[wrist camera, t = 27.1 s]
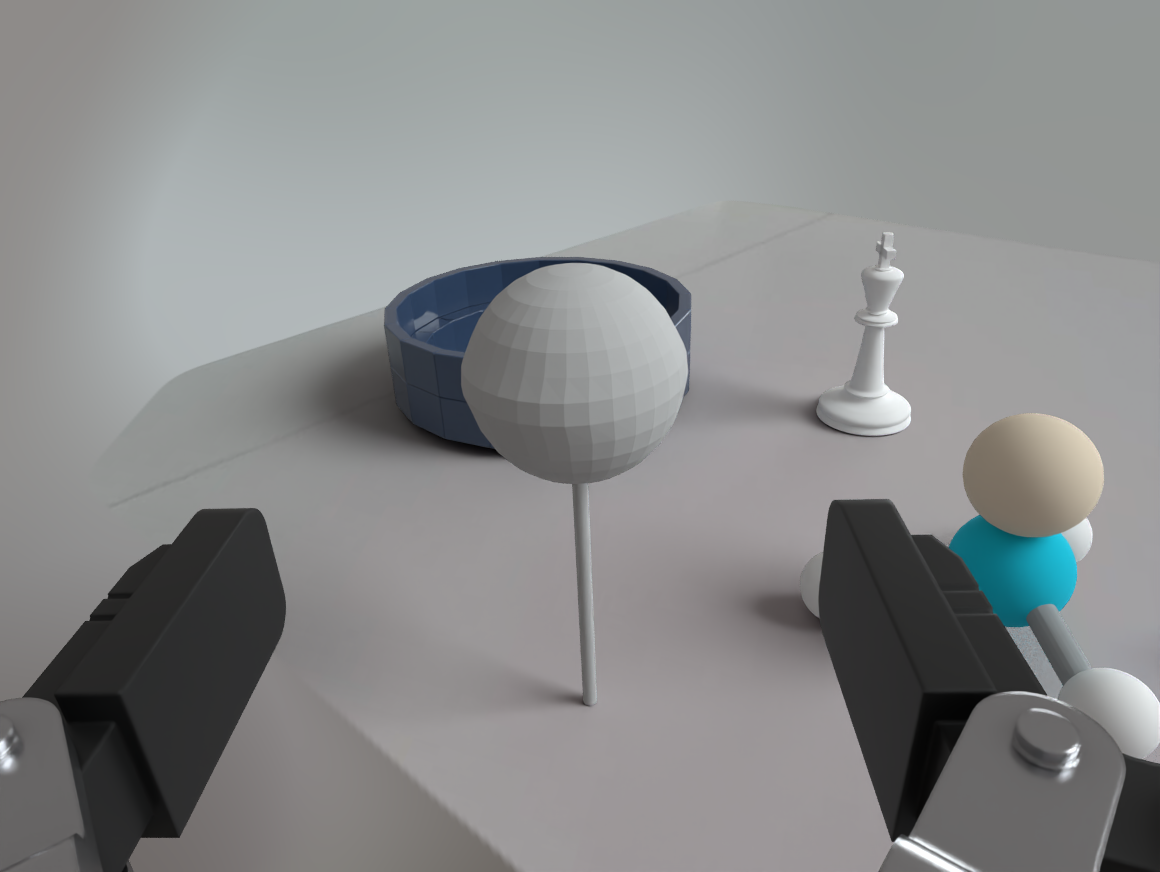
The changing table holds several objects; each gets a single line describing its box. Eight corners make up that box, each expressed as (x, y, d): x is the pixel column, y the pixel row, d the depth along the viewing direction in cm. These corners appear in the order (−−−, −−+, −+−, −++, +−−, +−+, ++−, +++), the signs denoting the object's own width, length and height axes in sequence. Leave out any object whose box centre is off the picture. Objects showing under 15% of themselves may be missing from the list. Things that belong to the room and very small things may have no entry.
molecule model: (1260, 786, 24) (1389, 538, 20) (848, 785, 25) (889, 543, 20) (1062, 543, 35) (1119, 347, 30) (776, 546, 35) (794, 354, 31)
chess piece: (828, 437, 43) (851, 249, 38) (807, 396, 48) (825, 222, 43) (924, 435, 43) (958, 245, 38) (893, 394, 47) (921, 219, 43)
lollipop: (597, 615, 32) (583, 224, 25) (717, 699, 28) (741, 262, 21) (464, 701, 28) (402, 272, 21) (580, 810, 24) (551, 329, 17)
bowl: (464, 494, 40) (452, 391, 37) (362, 371, 53) (347, 289, 51) (750, 405, 47) (756, 313, 44) (595, 317, 60) (593, 242, 58)
